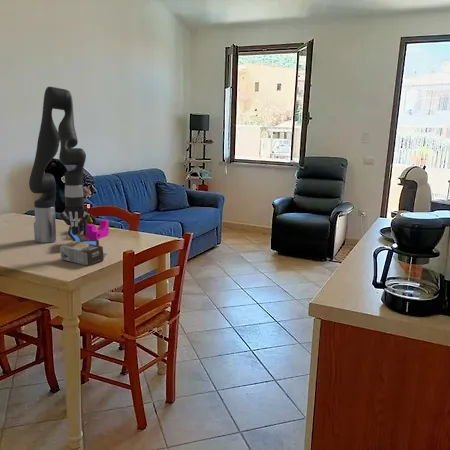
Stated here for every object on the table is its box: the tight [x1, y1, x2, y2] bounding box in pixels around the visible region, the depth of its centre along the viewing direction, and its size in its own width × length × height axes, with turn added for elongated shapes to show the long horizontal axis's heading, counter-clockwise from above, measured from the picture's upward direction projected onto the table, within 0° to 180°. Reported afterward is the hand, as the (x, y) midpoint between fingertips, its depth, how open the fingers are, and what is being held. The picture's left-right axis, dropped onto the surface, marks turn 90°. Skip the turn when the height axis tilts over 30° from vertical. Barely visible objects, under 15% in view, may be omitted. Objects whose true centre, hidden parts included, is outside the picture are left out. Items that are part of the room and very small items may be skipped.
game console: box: [67, 225, 100, 246], centre depth 211 cm, size 16×14×9 cm
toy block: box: [85, 219, 110, 240], centre depth 231 cm, size 15×6×8 cm, turn 162°
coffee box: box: [59, 240, 105, 267], centre depth 187 cm, size 9×6×16 cm
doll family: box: [78, 206, 97, 239], centre depth 236 cm, size 23×9×13 cm, turn 37°
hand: (75, 234), depth 192 cm, fingers closed
